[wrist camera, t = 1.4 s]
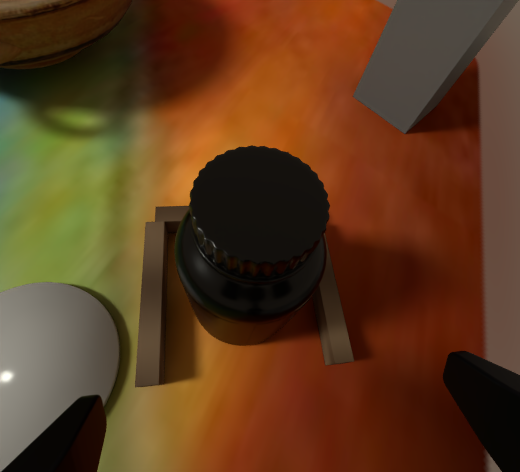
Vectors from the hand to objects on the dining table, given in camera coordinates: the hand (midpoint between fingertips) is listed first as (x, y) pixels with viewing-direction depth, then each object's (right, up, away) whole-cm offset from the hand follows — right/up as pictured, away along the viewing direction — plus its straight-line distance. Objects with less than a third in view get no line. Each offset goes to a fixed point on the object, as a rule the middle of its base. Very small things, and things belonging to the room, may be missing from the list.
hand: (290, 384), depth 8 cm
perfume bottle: (+14, +18, +25) cm, 34 cm away
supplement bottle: (-2, 0, +13) cm, 13 cm away
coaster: (-14, -4, +10) cm, 17 cm away
